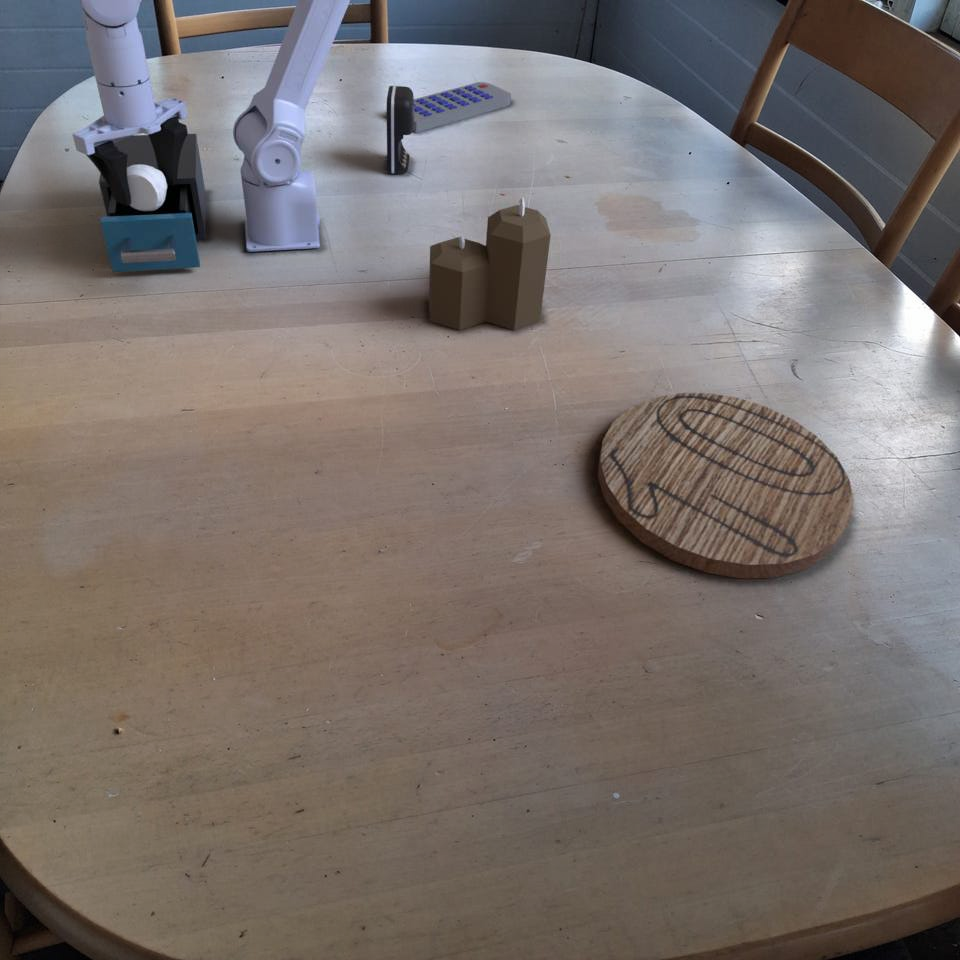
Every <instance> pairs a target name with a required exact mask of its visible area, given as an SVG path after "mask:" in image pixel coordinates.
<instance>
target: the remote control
mask: <svg viewBox="0 0 960 960" xmlns="http://www.w3.org/2000/svg"><path fill="white" fill-rule="evenodd" d="M511 99H512V93H511V92H508V91H507V90H505V89H503V88H501V87H499V86H496V85H495V84H492V83H489V82H485V81H484V82H483V81H478V82H474V83H470V84H466V85H463V86H459V87H455V88H451V89H447V90H443V91H440V92H436V93H432V94H429V95H425V96H421V97H417V98H414V124H413V131H412V132H414V133H415V134H417V133H421V132H424V131H427V130H431V129H434V128H438V127H441V126H445V125H448V124H451V123H455V122H458V121H461V120H465V119H468V118H472V117H476V116H479V115H482V114H486V113H489V112H492V111H496V110H499V109H503V108H507V107H508V106H509V105H510V104H511V103H512V100H511Z"/></svg>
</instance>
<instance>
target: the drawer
mask: <svg viewBox="0 0 960 960" xmlns="http://www.w3.org/2000/svg"><path fill="white" fill-rule="evenodd" d="M108 214H109V217H107V216H101V217H100V221H99V223H100V226H101V232H102V236H103V238H104V243H105V247H106V250H107V256H108V259H109V263H110V268H111V270H112V273H120V272H121V273H123V272H137V271H138V272H139V271H140V272H141V271H154V270H155V271H157V270H175V269H193V268H201V261H200V254H199V250H198V244H197V243H198V242H197V240H196V236H195V231H194V213H193V206H192V201H191V195H190V189H189V184H177V185H167V190H166V196H165V200H164V203H163V204H162V205H161V206H160V207H159V208H158V209H157V210H155V211H140V210H137V209H135V208H133V207H131V206H130V205H127V206H125V205H123V204H121V203H119V202H117V201H116V200H115V198H114V196H113V194H112V192H111V199H110V205H109V212H108Z"/></svg>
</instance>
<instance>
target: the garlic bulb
mask: <svg viewBox="0 0 960 960" xmlns="http://www.w3.org/2000/svg"><path fill="white" fill-rule="evenodd" d="M127 180H128V185H129V190H130V194H131V204H130V206H131V207H133V208H135V209H137V210H140V211H155V210H157V209H158V208H159V207H160V206H161V205H162V204H163V203H164V200H165V196H166V190H167V183H166V179H165V176H164V174H163V173H162V172H161V171H160V170H158V169H155V168H154V167H151V166H147V165H132V166H129V167H127Z"/></svg>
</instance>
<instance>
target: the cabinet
mask: <svg viewBox="0 0 960 960" xmlns="http://www.w3.org/2000/svg"><path fill="white" fill-rule="evenodd" d="M198 142H199V141H198V136H197V133H188V135H187V137H186V139H185V141H184V143H183V146H182V150H181V153H180V158H179V165H178V175H177V184H189V189H190V195H191V201H192V206H193V213H194V231H195V236H196V241H201V240H203V241H204V240H206V238H207V230H206V229H207V223H206V221H207V219H206V215H207V211H206V210H207V209H206V208H207V206H206V205H207V204H206V203H207V202H206V200H207V199H206V187H205V186H206V185H205V180H204V174H203V167H202V161H201V155H200V154H201V153H200V148H199V143H198ZM114 146H115V147H116V146H117V148H118V151H121V152H123V153H125V154H127V155H128V158H127V167H129V166H132V165H147V166H151V167H154V168H155V169H158V166H157V161H156V156H155V152H154V149H153V146H152V143H151V140H150V138H149V135H148V134H136V135H132V136H130V137H127V138H125V139H122V140H119V141H117V142H114ZM98 184H99V189H100V192H101V196H102V197H101V198H102V200H103V206H104V209H105V214H106V217H109V214H108V212H109V205H110V199H111V190H110V188H109V186H108V184H107V182H106V181H105V179H104V177H103V176H102V174H101V173H100V172H99V179H98ZM177 184H175V185H177ZM167 185H171V184H168V183H167Z"/></svg>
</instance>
